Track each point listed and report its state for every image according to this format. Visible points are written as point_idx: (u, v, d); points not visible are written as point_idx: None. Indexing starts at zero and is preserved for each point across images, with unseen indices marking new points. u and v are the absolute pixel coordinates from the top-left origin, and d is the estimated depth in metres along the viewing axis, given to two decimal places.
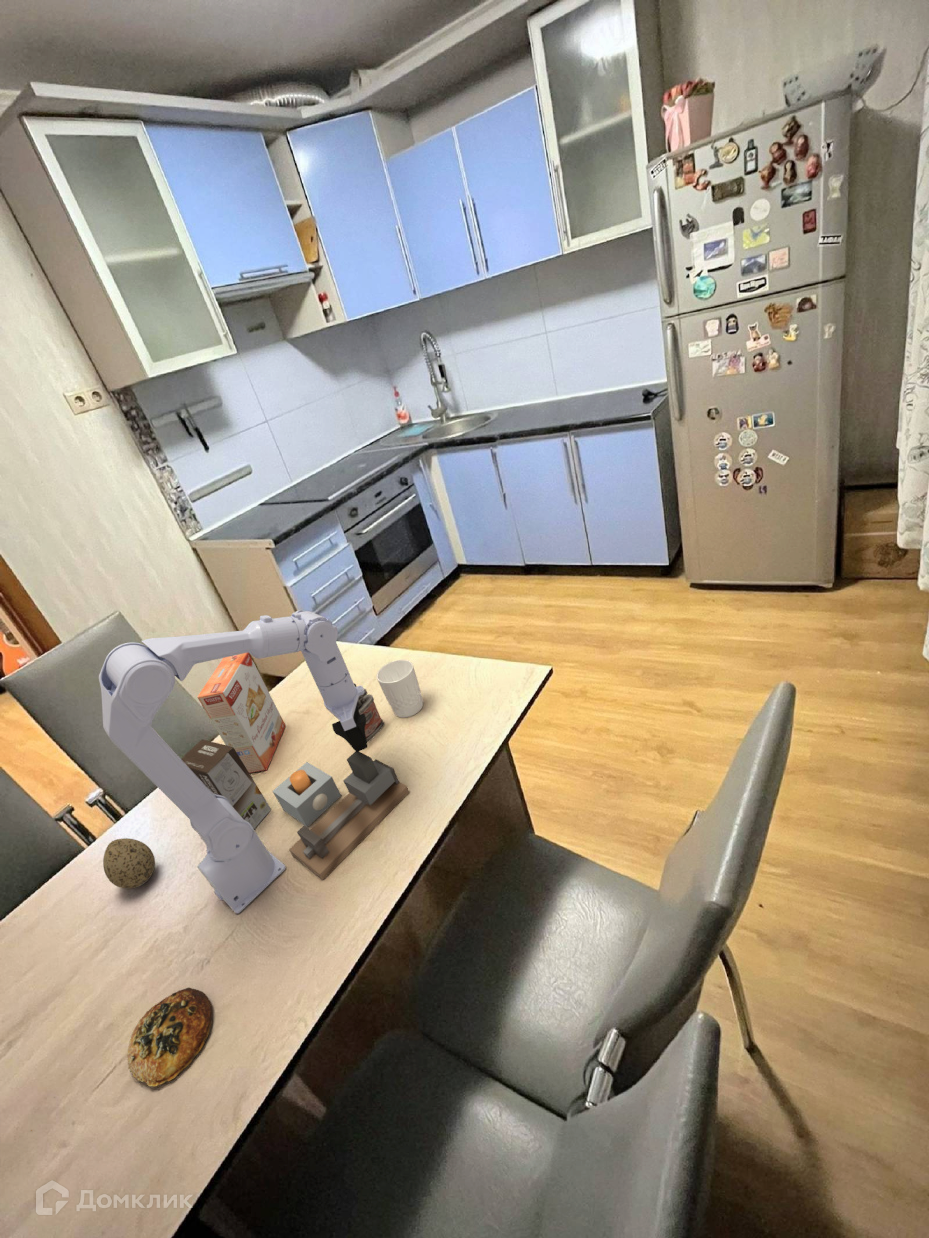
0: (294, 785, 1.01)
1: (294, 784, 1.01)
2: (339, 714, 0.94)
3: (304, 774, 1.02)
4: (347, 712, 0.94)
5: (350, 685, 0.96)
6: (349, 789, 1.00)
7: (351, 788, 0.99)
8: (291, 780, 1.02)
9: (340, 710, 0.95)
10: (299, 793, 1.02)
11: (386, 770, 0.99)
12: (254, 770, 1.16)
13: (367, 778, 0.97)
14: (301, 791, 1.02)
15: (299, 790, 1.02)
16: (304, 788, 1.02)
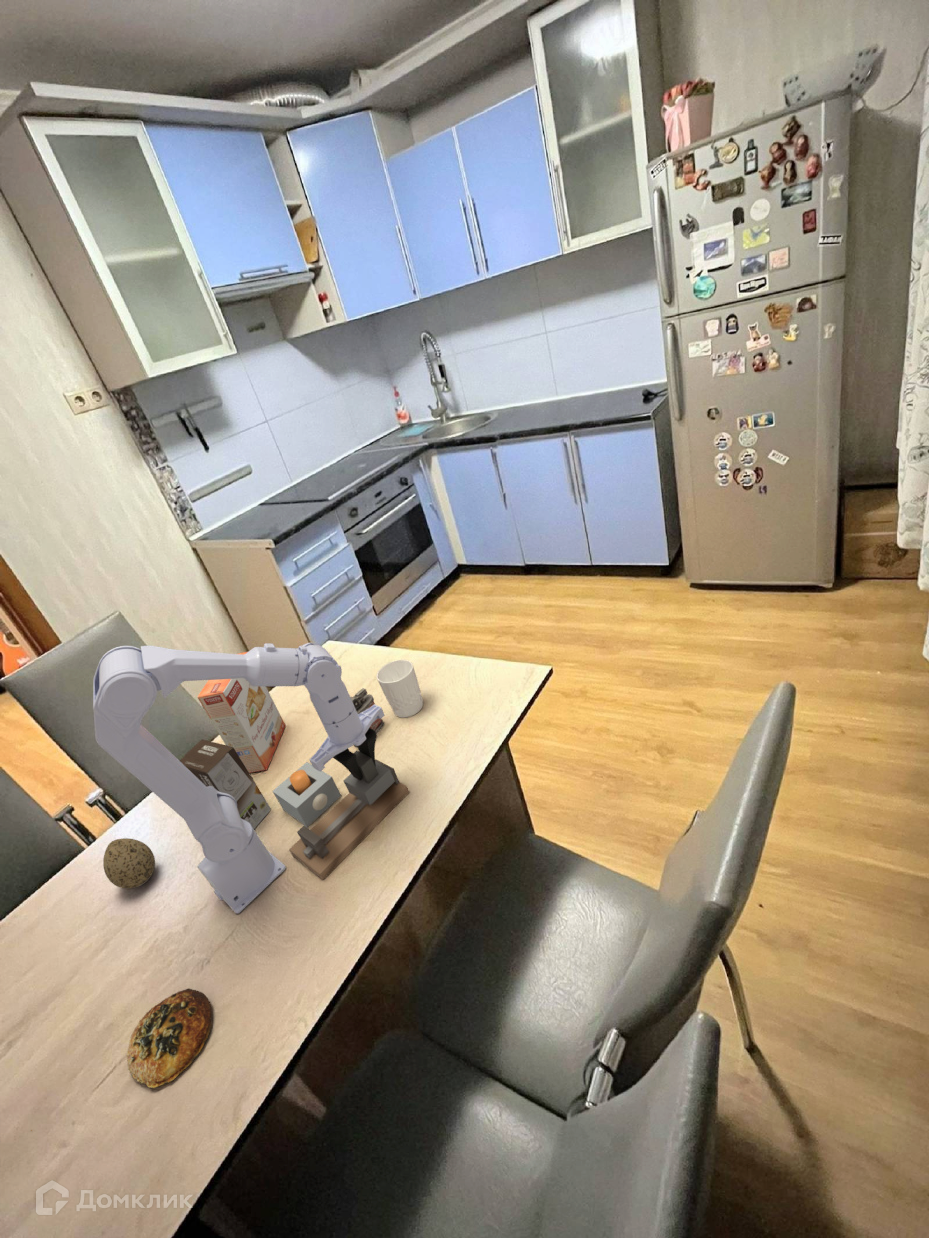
0: (294, 785, 1.01)
1: (294, 784, 1.01)
2: (321, 749, 0.92)
3: (304, 774, 1.02)
4: (326, 753, 0.92)
5: (342, 732, 0.91)
6: (349, 789, 1.00)
7: (351, 788, 0.99)
8: (291, 780, 1.02)
9: (329, 746, 0.93)
10: (299, 793, 1.02)
11: (386, 770, 0.99)
12: (254, 770, 1.16)
13: (367, 778, 0.97)
14: (301, 791, 1.02)
15: (299, 790, 1.02)
16: (304, 788, 1.02)
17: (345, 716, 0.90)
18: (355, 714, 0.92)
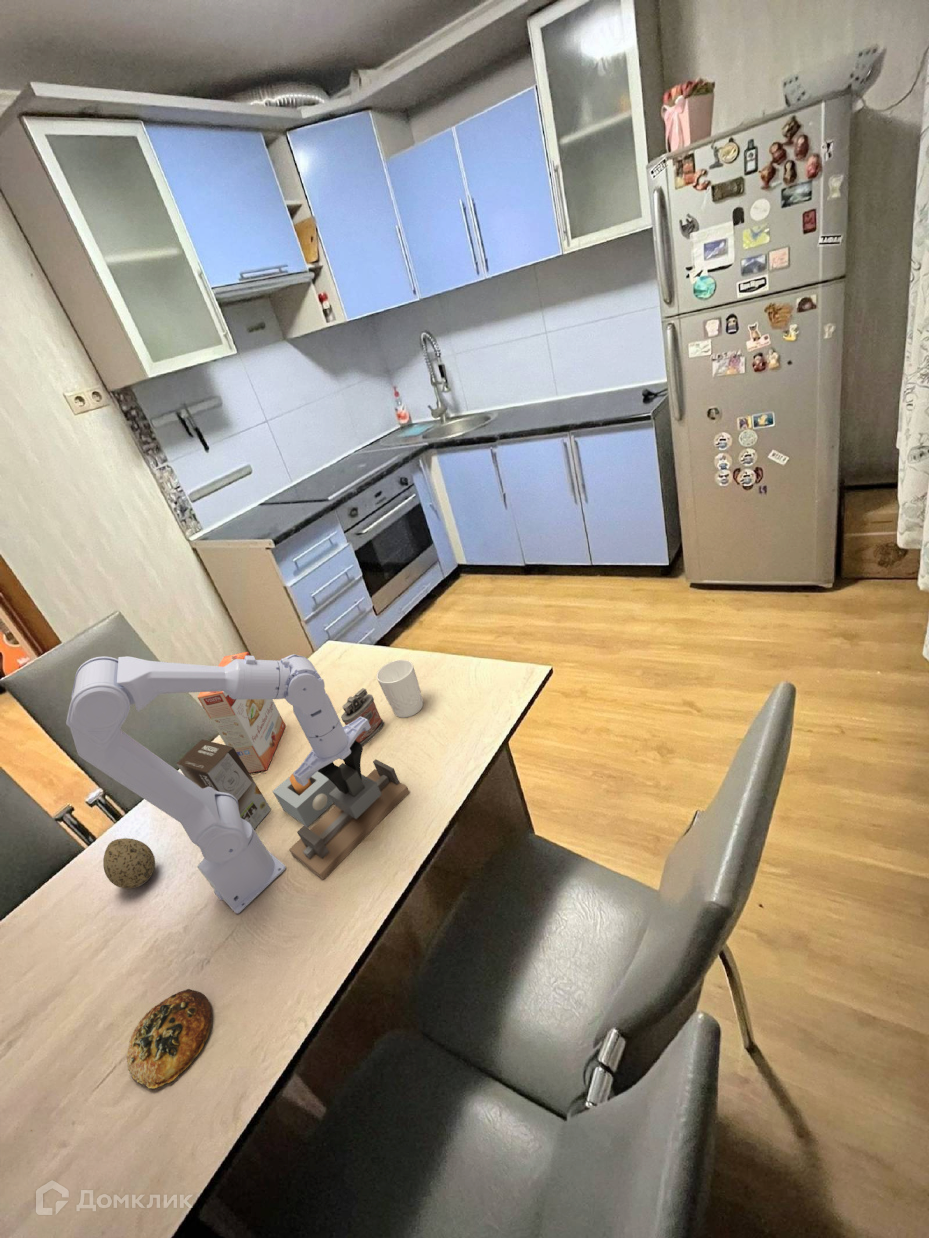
0: (294, 785, 1.01)
1: (294, 784, 1.01)
2: (305, 763, 0.91)
3: None
4: (310, 767, 0.90)
5: (326, 745, 0.89)
6: (335, 802, 0.98)
7: (337, 801, 0.97)
8: (291, 780, 1.02)
9: (314, 759, 0.91)
10: (299, 793, 1.02)
11: (372, 783, 0.97)
12: (254, 770, 1.16)
13: (353, 791, 0.95)
14: (301, 791, 1.02)
15: (299, 790, 1.02)
16: (304, 788, 1.02)
17: (328, 730, 0.88)
18: (340, 727, 0.90)
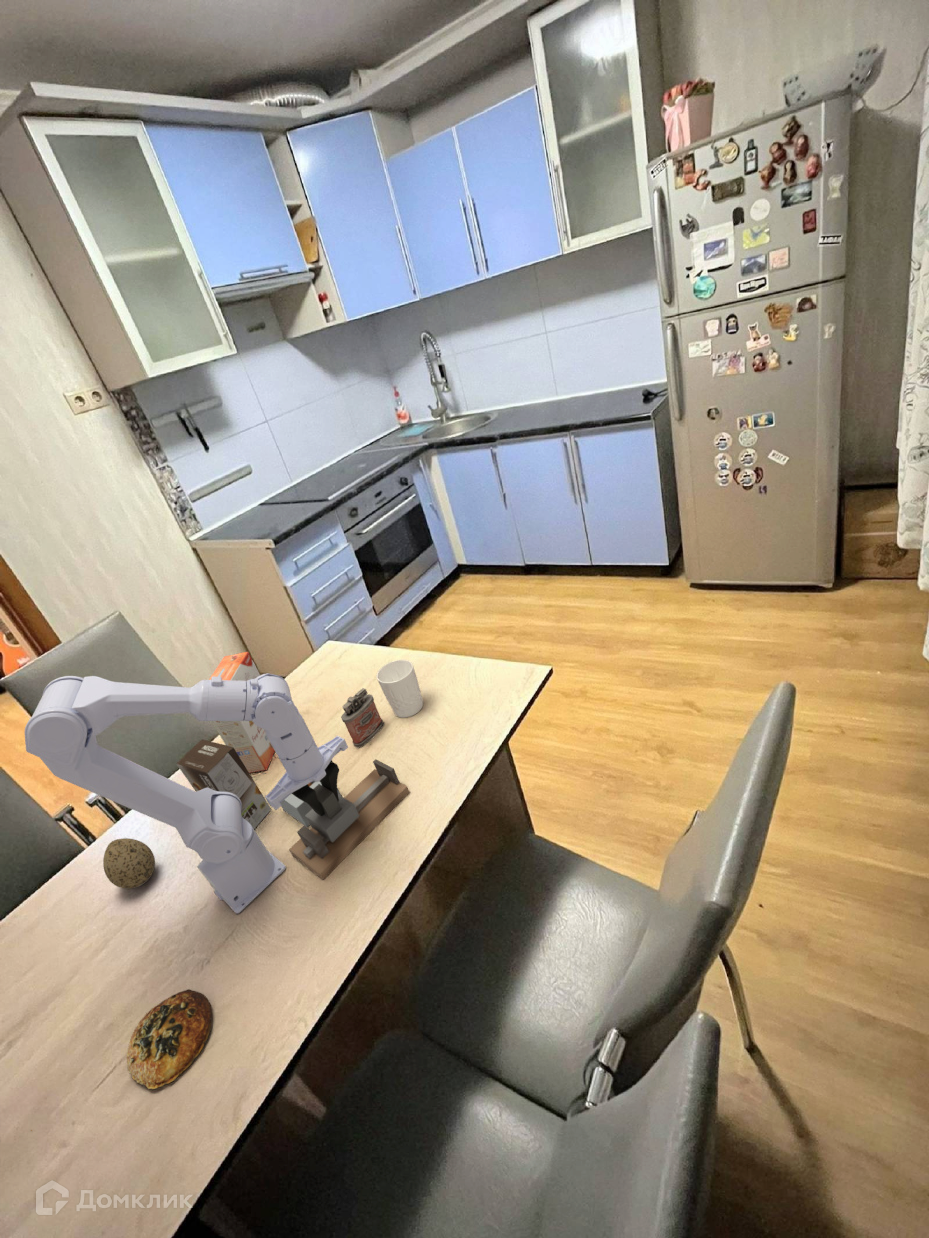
0: None
1: None
2: (278, 786, 0.88)
3: None
4: (283, 790, 0.87)
5: (300, 767, 0.86)
6: (311, 824, 0.95)
7: (313, 824, 0.94)
8: None
9: (288, 781, 0.88)
10: None
11: (350, 805, 0.94)
12: (254, 770, 1.16)
13: (329, 814, 0.92)
14: None
15: None
16: None
17: (300, 753, 0.85)
18: (314, 748, 0.87)
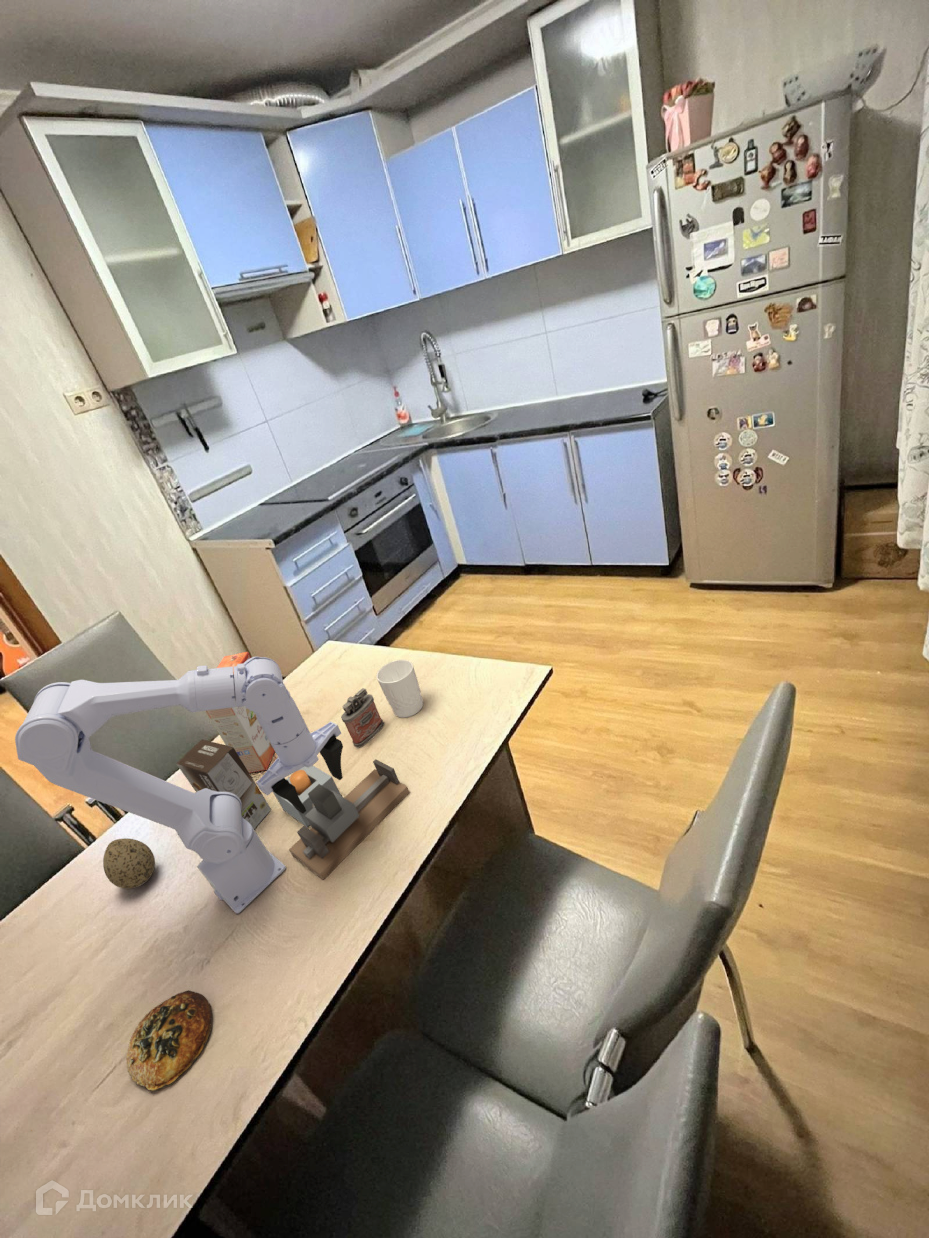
0: (294, 785, 1.01)
1: (294, 784, 1.01)
2: (270, 771, 0.86)
3: (304, 774, 1.02)
4: (274, 775, 0.85)
5: (291, 752, 0.84)
6: (311, 824, 0.95)
7: (313, 824, 0.94)
8: (291, 780, 1.02)
9: (279, 767, 0.87)
10: (299, 793, 1.02)
11: (350, 805, 0.94)
12: (254, 770, 1.16)
13: (329, 814, 0.92)
14: (301, 791, 1.02)
15: (299, 790, 1.02)
16: (304, 788, 1.02)
17: (291, 738, 0.83)
18: (306, 733, 0.86)
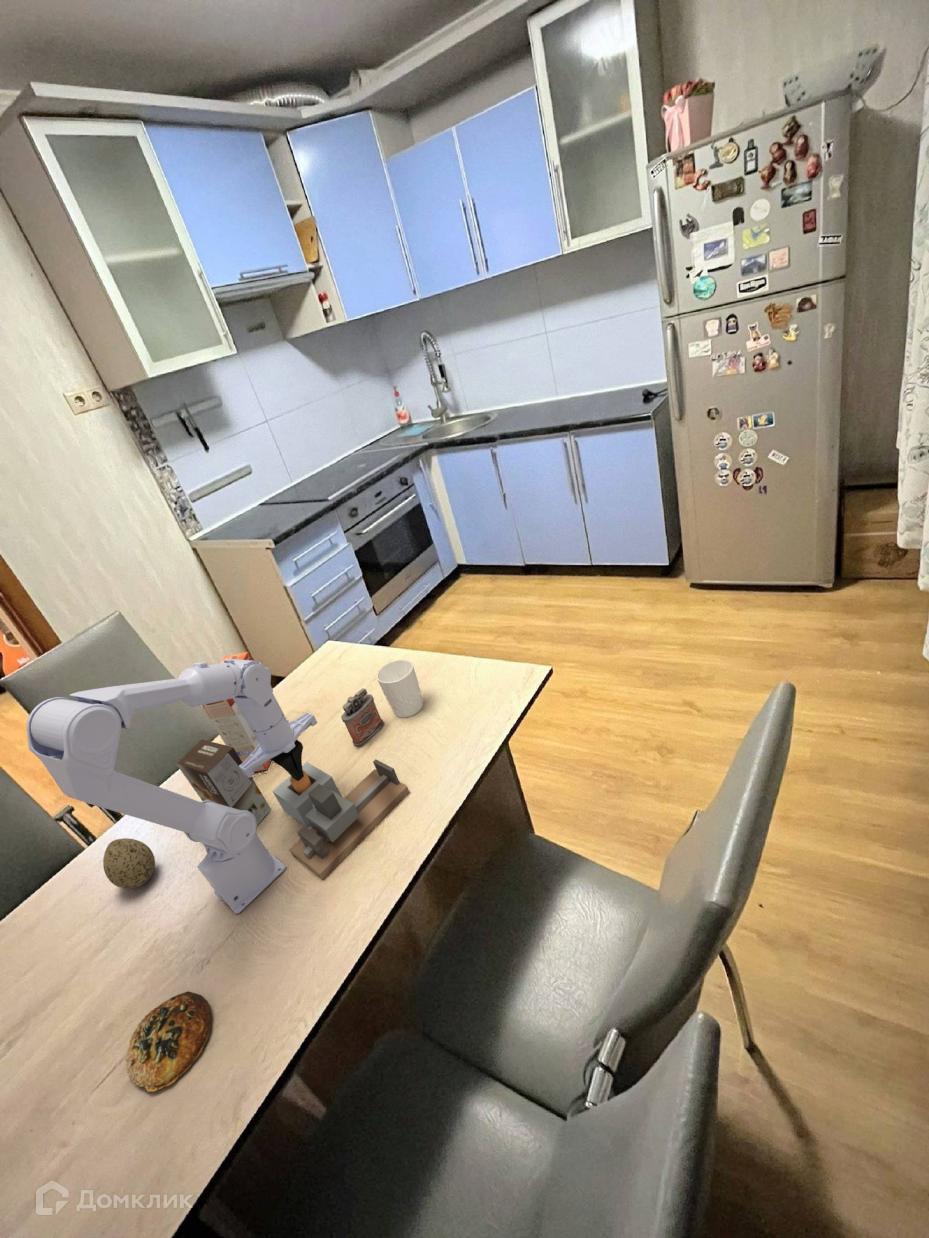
0: (294, 786, 1.01)
1: (294, 785, 1.01)
2: (252, 756, 0.96)
3: (304, 775, 1.02)
4: (255, 760, 0.95)
5: (270, 739, 0.94)
6: (311, 824, 0.95)
7: (313, 824, 0.94)
8: (291, 781, 1.02)
9: None
10: (299, 794, 1.02)
11: (350, 805, 0.94)
12: None
13: (329, 814, 0.92)
14: (301, 792, 1.02)
15: (299, 790, 1.02)
16: (304, 789, 1.02)
17: (280, 718, 0.94)
18: (284, 722, 0.95)
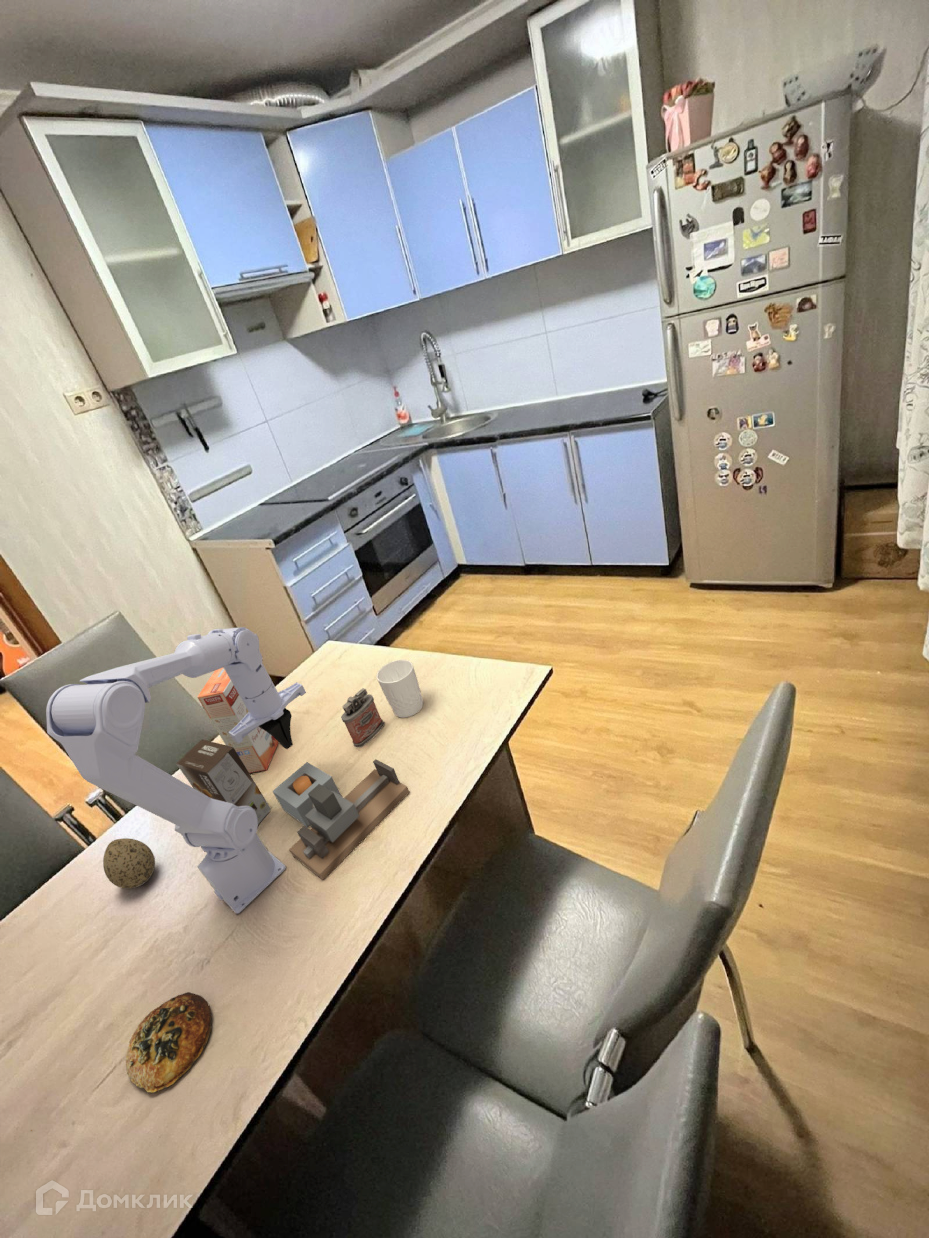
0: (297, 791, 1.02)
1: (297, 790, 1.02)
2: (241, 723, 0.98)
3: (307, 780, 1.03)
4: (245, 727, 0.98)
5: (259, 706, 0.97)
6: (311, 824, 0.95)
7: (313, 824, 0.94)
8: (294, 786, 1.02)
9: (249, 720, 0.99)
10: None
11: (350, 805, 0.94)
12: (254, 770, 1.16)
13: (329, 814, 0.92)
14: None
15: None
16: None
17: (270, 683, 0.98)
18: (273, 690, 0.98)
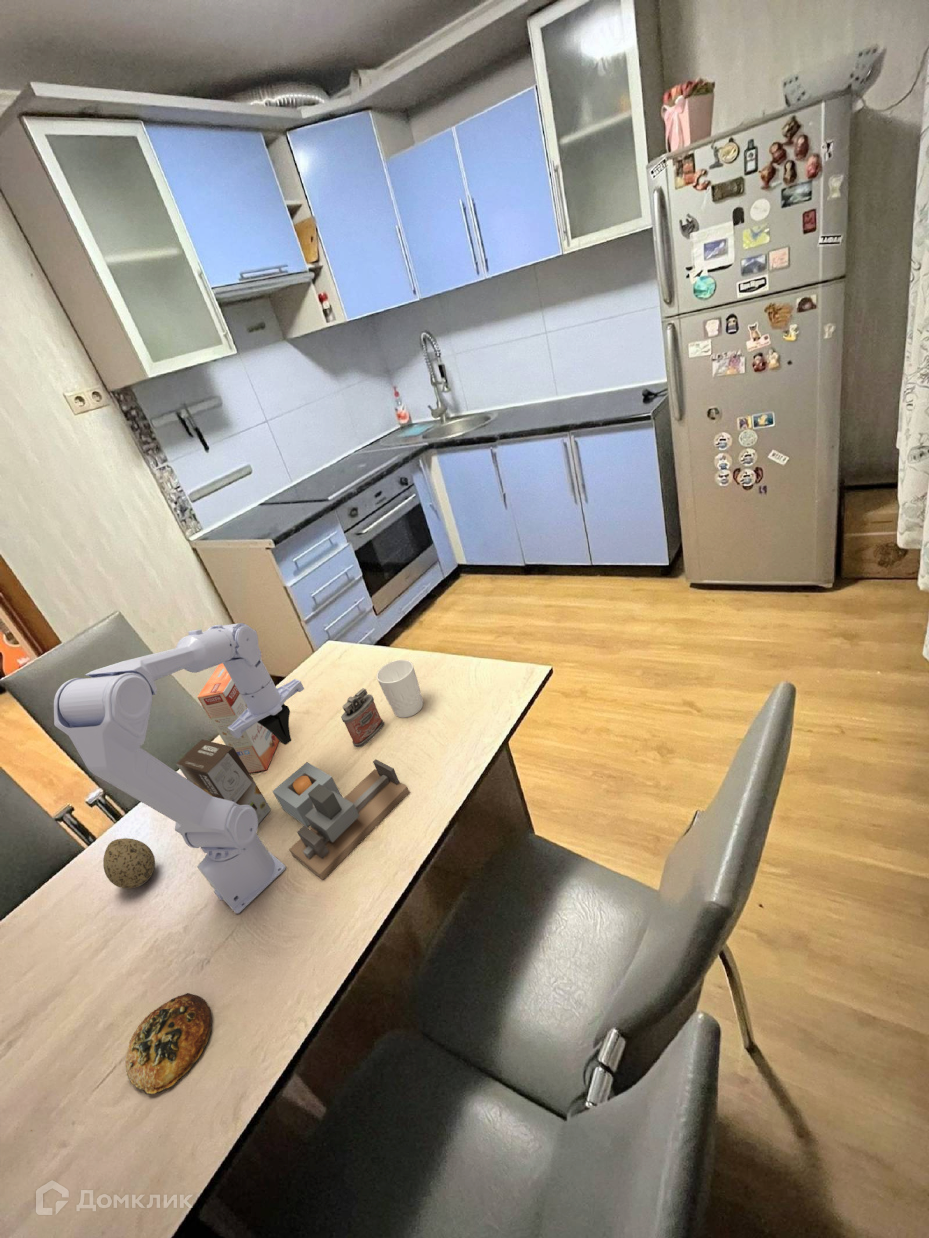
0: (297, 791, 1.02)
1: (297, 790, 1.02)
2: (240, 719, 0.99)
3: (307, 780, 1.03)
4: (244, 722, 0.99)
5: (258, 702, 0.98)
6: (311, 824, 0.95)
7: (313, 824, 0.94)
8: (294, 786, 1.02)
9: None
10: None
11: (350, 805, 0.94)
12: (254, 770, 1.16)
13: (329, 814, 0.92)
14: None
15: None
16: None
17: (269, 679, 0.99)
18: (271, 686, 0.99)
